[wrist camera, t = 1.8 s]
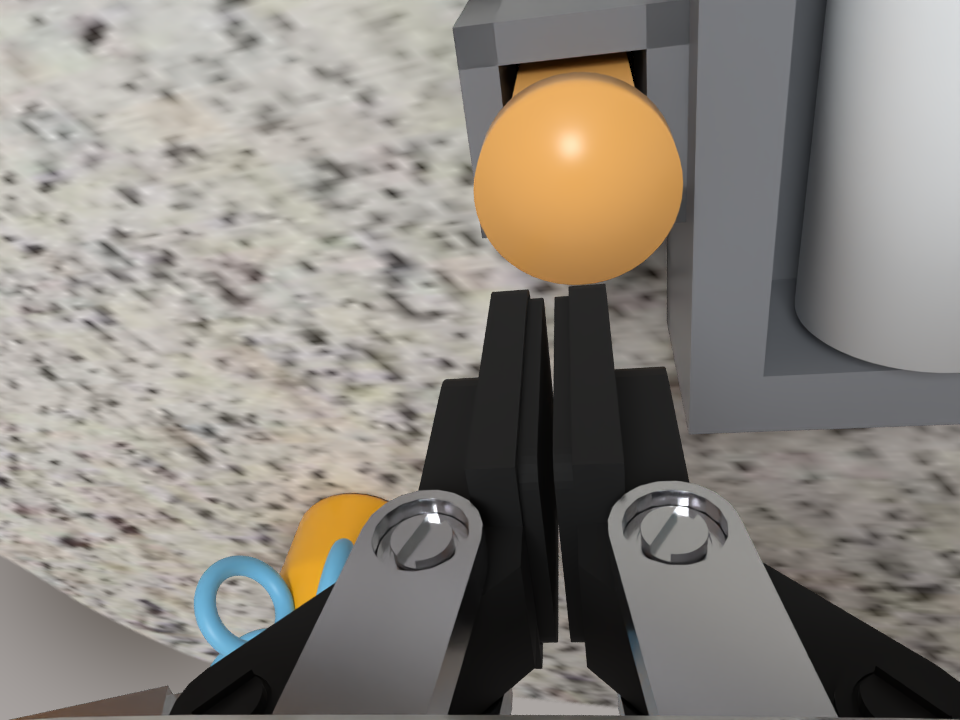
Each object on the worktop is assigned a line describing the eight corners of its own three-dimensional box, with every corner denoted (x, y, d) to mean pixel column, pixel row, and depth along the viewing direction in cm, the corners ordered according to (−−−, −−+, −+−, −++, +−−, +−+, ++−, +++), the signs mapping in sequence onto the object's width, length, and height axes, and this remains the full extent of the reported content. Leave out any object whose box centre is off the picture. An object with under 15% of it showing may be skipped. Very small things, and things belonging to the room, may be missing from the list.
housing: (1289, -432, 17) (1627, -554, 11) (1055, 298, 27) (1177, 415, 21) (441, -277, 19) (391, -315, 14) (515, 329, 29) (503, 441, 24)
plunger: (654, 9, 20) (684, 76, 15) (655, 169, 23) (681, 278, 17) (489, 29, 21) (460, 99, 16) (507, 182, 24) (487, 291, 18)
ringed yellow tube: (453, 634, 40) (400, 989, 28) (255, 597, 40) (115, 936, 28) (494, 463, 33) (449, 835, 21) (255, 417, 33) (69, 764, 21)
